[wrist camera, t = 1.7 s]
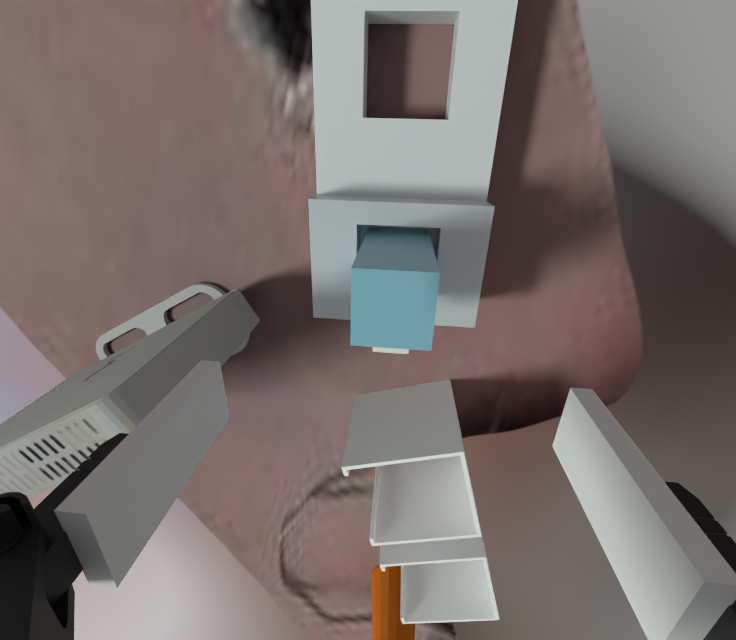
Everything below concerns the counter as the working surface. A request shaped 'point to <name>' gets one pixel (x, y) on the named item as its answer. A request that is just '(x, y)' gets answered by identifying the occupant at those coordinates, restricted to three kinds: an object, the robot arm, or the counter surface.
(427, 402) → the storage container
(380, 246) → the plug
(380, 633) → the spray bottle
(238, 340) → the network device
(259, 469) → the counter surface
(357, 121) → the panel
